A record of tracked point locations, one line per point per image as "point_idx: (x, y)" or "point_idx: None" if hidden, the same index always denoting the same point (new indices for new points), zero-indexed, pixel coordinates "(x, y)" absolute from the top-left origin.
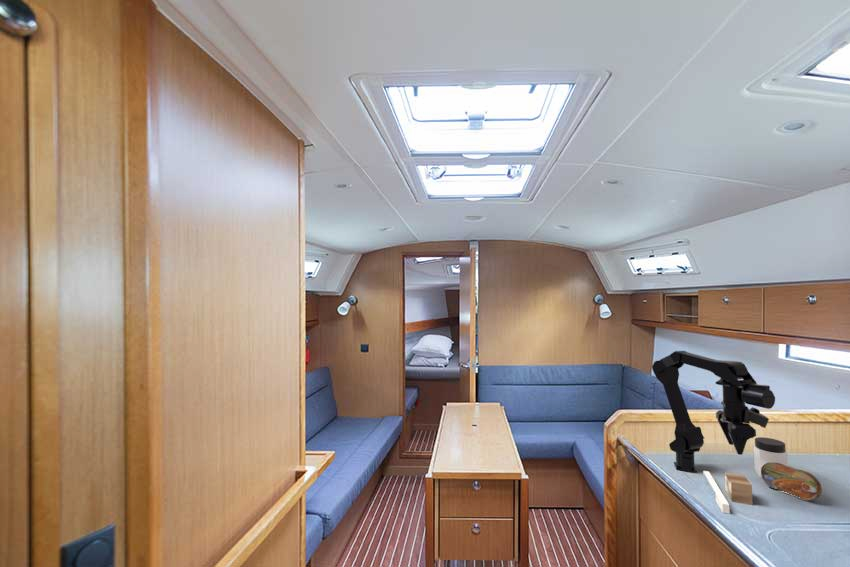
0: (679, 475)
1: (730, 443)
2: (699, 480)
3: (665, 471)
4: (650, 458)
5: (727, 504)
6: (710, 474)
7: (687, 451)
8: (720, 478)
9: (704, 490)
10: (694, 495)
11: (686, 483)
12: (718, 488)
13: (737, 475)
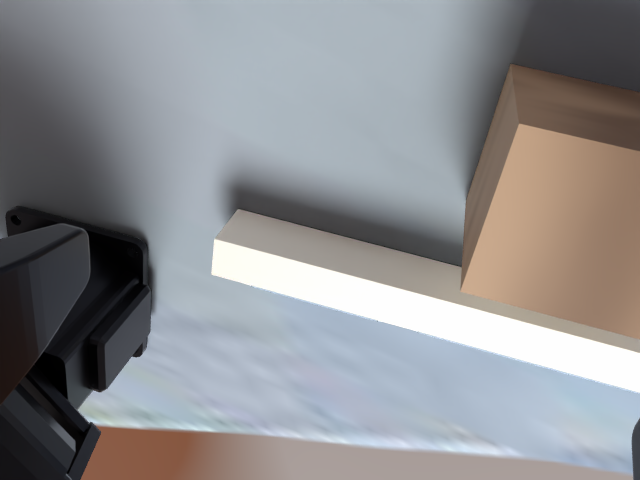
0: (236, 372)
1: (77, 277)
2: None
3: (196, 419)
4: None
5: None
6: (280, 258)
7: (40, 393)
8: (194, 109)
9: None
10: (561, 436)
11: (365, 392)
12: (581, 342)
13: (522, 202)
